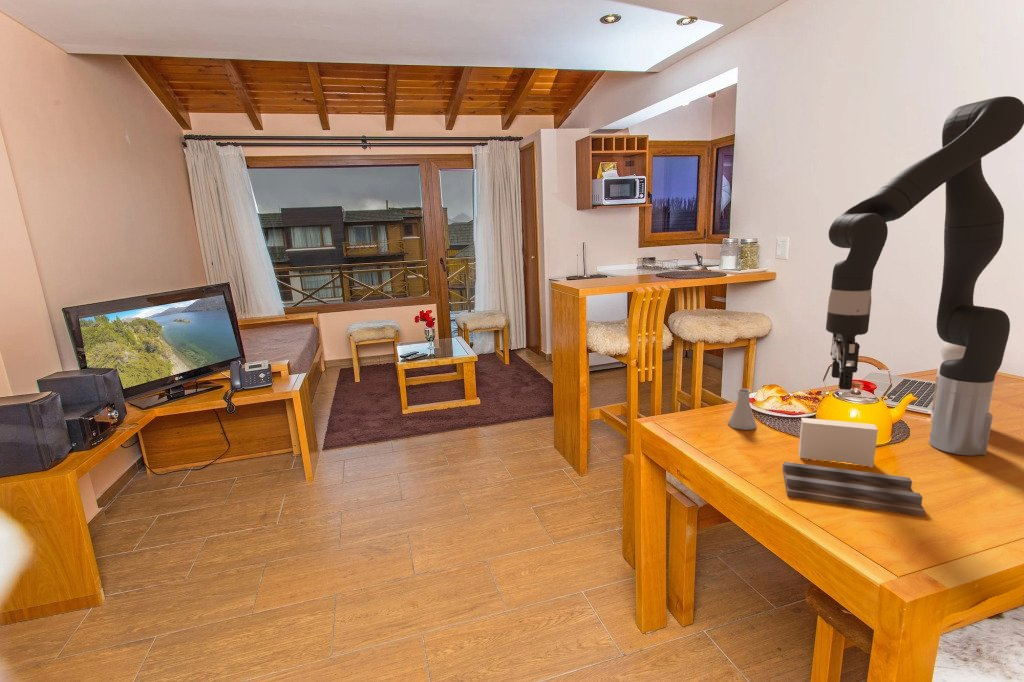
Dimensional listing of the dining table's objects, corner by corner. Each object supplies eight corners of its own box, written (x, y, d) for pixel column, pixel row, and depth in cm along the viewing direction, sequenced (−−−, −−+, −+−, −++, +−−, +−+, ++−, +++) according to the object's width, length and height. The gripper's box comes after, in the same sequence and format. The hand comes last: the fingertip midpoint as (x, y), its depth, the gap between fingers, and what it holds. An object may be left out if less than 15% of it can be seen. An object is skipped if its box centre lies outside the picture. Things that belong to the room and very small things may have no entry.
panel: (869, 461, 111) (874, 424, 109) (873, 467, 108) (877, 429, 106) (798, 453, 116) (801, 417, 114) (799, 458, 114) (802, 422, 112)
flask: (760, 431, 129) (762, 395, 127) (730, 430, 130) (732, 394, 128) (752, 420, 136) (754, 386, 134) (724, 420, 137) (726, 386, 135)
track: (904, 484, 100) (906, 472, 100) (924, 516, 90) (926, 503, 89) (782, 468, 109) (783, 457, 109) (787, 495, 99) (788, 483, 98)
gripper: (878, 316, 97) (869, 395, 100) (862, 305, 109) (854, 375, 113) (833, 315, 100) (826, 391, 103) (822, 304, 112) (816, 372, 116)
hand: (840, 383), depth 108 cm, fingers open, 8 cm apart
